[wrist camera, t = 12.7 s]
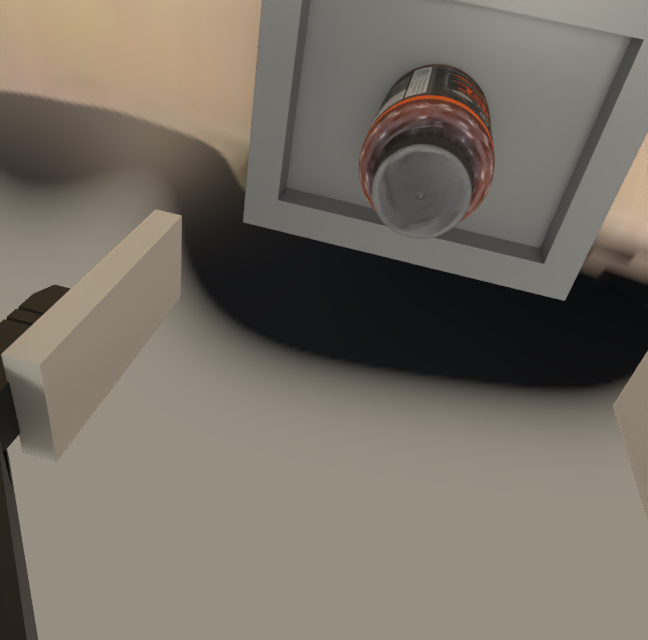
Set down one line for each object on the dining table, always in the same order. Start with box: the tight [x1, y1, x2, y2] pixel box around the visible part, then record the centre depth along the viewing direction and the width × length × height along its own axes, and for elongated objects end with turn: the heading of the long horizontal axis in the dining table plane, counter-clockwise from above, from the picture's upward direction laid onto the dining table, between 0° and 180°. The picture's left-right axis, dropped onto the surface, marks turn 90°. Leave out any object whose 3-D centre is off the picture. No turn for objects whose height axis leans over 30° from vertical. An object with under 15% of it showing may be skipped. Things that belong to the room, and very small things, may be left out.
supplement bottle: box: [359, 64, 495, 239], centre depth 28 cm, size 6×6×11 cm
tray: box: [243, 0, 648, 301], centre depth 32 cm, size 20×16×3 cm
